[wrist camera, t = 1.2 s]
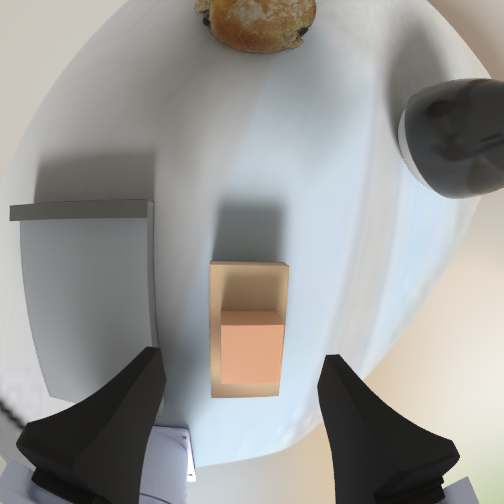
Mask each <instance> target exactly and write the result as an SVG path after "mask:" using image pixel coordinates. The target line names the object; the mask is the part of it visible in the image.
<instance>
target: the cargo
mask: <svg viewBox="0 0 504 504" xmlns="http://www.w3.org/2000/svg"><path fill="white" fill-rule="evenodd" d="M283 336H284V323H283V322H282V320H281V318H280V317H279V315H278V314H277V312H276V311H220V356H221V384H252V383H273V382H279V380H280V370H281V359H282V348H283Z"/></svg>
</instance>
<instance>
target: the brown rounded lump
mask: <svg viewBox="0 0 504 504" xmlns="http://www.w3.org/2000/svg"><path fill="white" fill-rule="evenodd" d="M195 11H196V13H197V14H198V13H202V12H203V13H205V17H204V19H203V23H204V24H205V25H206V26H208V27H209V28H210V29H211V33H212V35H213V36H215V37H216V38H218V39H219V41H220V42H223V43H225V44H227V45H228V46H230V47H232V48H234V49H236V50H243V51H247V52H251V53H253V52H261V53H275V52H279V51H282V50H284V49H287V48H291V49H295V48H296V47H298V46H300V45H301V44H302V42H303V40H301V39H300V38H301V37H302V36H303V34H305V33H306V32H307V31H308V28H309V27H310V26H311V25H312V23H313V21H314V18H315V14H316V3H315V0H197V2H196V6H195Z"/></svg>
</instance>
